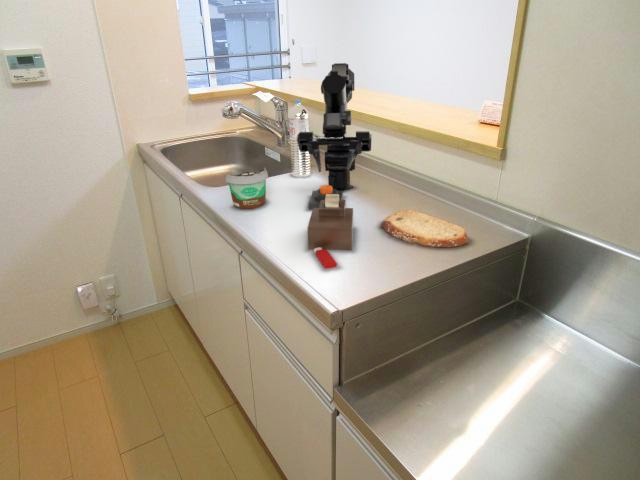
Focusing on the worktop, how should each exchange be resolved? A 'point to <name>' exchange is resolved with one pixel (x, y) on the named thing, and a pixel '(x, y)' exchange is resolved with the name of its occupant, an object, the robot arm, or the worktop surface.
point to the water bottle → (296, 125)
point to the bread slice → (424, 229)
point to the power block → (321, 198)
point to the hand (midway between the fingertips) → (333, 171)
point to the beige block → (332, 200)
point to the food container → (248, 189)
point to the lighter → (325, 258)
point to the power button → (325, 189)
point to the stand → (331, 227)
